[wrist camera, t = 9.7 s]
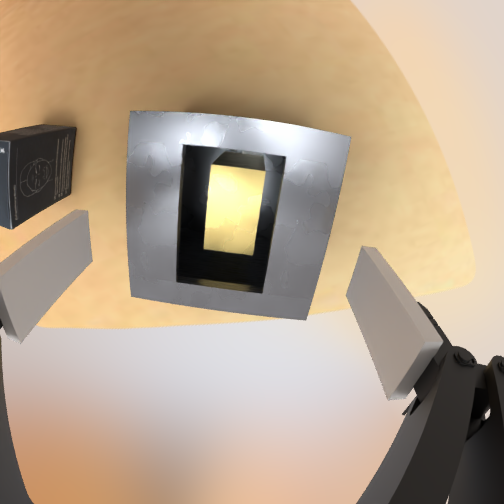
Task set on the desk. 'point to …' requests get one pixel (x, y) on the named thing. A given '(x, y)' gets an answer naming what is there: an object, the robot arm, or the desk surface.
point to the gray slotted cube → (195, 208)
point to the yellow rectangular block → (234, 202)
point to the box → (34, 170)
